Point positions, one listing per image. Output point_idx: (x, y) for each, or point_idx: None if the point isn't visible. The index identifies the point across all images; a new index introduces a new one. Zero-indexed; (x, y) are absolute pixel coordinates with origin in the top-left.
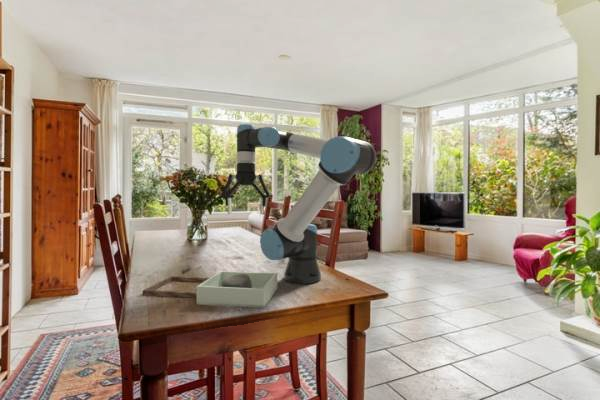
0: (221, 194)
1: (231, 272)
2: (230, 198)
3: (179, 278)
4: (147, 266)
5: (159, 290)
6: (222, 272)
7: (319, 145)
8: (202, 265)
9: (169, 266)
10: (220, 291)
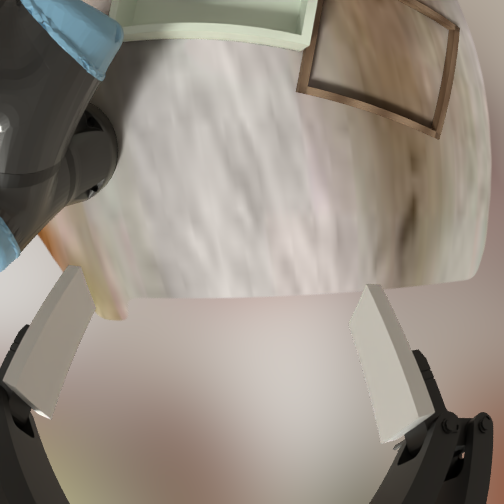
0: (490, 425)
1: (264, 28)
2: (397, 429)
3: (420, 124)
4: (467, 260)
5: (431, 14)
6: (298, 35)
7: None
8: (371, 276)
9: (436, 263)
10: None
